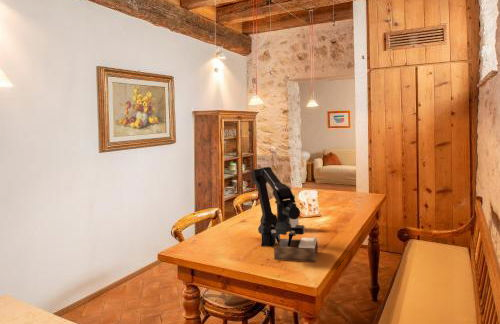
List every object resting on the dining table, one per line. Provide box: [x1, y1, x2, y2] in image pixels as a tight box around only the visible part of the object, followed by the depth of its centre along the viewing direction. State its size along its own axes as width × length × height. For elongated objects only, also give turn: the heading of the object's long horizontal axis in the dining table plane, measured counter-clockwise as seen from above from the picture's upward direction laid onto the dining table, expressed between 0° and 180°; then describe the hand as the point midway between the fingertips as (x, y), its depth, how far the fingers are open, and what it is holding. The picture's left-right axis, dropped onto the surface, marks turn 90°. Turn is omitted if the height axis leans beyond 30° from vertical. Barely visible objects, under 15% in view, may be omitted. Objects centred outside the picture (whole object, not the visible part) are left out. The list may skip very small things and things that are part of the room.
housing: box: [273, 238, 319, 263], centre depth 172 cm, size 18×12×6 cm, turn 75°
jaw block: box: [278, 238, 289, 247], centre depth 173 cm, size 4×4×4 cm
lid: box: [299, 236, 318, 248], centre depth 170 cm, size 7×12×2 cm, turn 165°
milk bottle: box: [287, 194, 300, 227], centre depth 210 cm, size 8×8×20 cm
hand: (284, 247), depth 173 cm, fingers closed on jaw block, 4 cm apart
